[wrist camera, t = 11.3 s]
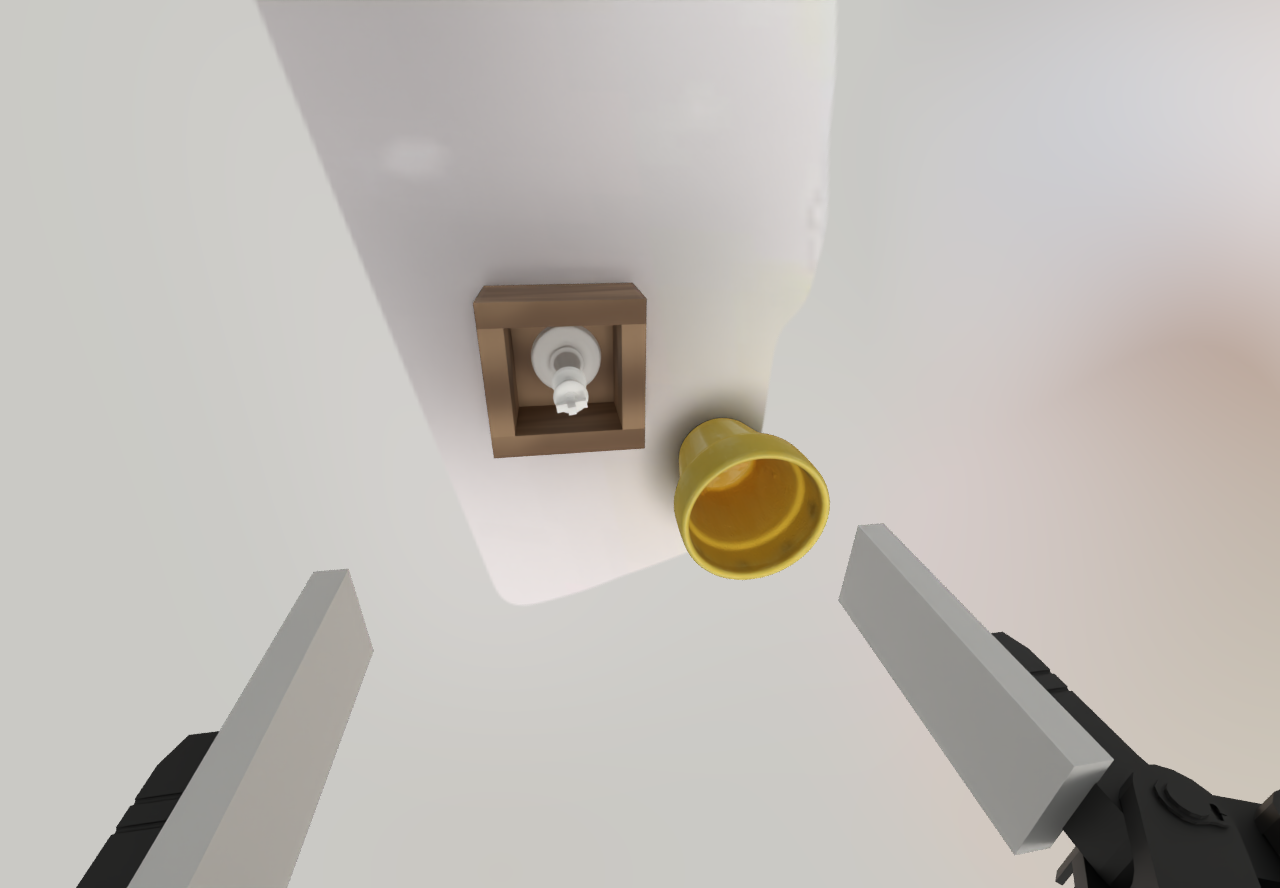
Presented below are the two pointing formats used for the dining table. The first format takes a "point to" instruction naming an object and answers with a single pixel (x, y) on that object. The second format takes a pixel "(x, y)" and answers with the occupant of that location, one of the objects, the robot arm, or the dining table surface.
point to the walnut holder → (527, 403)
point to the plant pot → (746, 500)
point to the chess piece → (566, 364)
